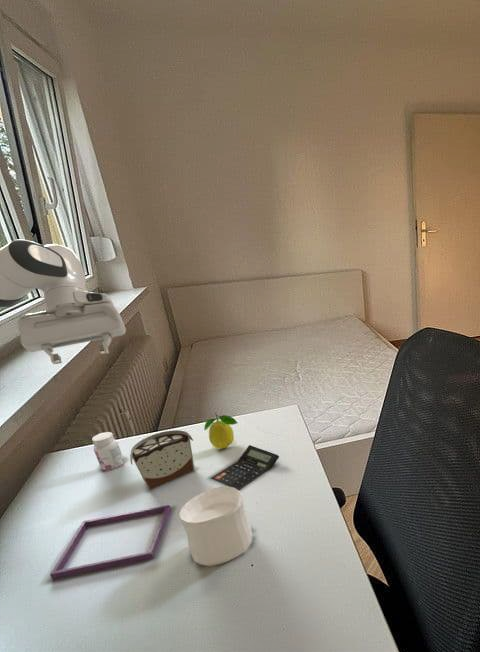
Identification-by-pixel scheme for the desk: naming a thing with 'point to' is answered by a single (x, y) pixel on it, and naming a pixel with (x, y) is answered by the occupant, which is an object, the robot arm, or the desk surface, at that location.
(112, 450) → the pill bottle
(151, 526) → the desk surface
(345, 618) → the desk surface
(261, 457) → the calculator
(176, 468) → the food container
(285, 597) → the desk surface
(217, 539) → the cup
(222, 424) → the lemon
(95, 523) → the purple square frame
